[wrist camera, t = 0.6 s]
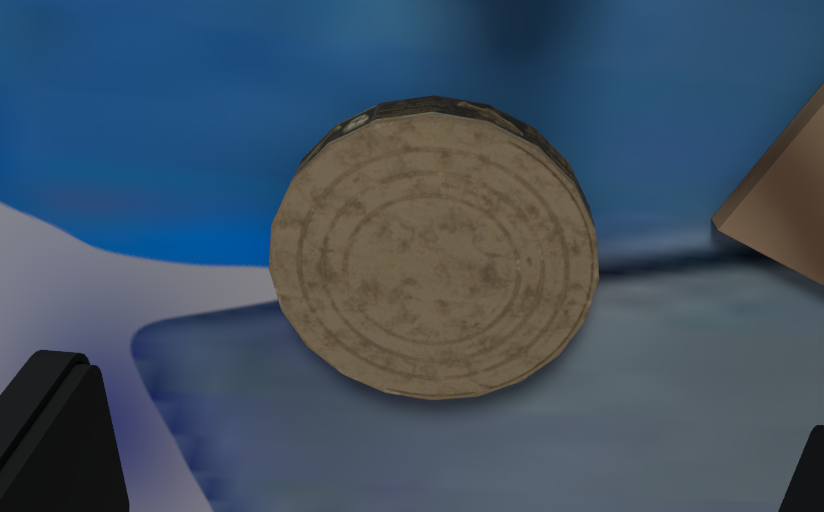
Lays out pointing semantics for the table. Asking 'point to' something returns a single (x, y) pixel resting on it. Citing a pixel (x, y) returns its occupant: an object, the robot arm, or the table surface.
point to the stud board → (785, 197)
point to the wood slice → (435, 249)
